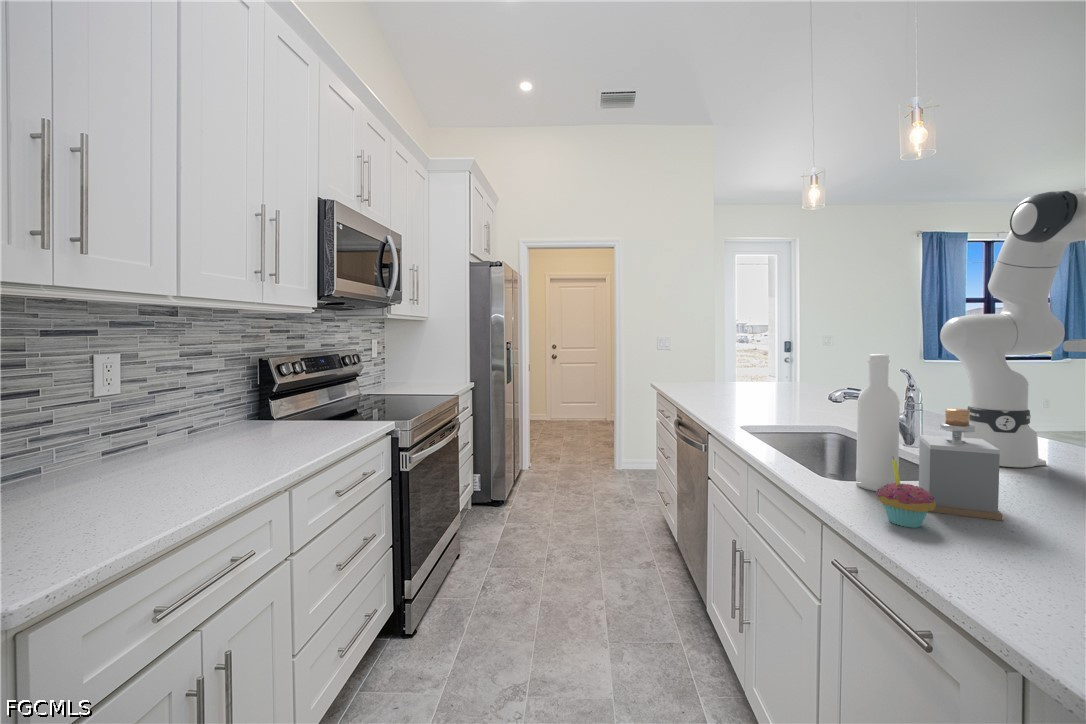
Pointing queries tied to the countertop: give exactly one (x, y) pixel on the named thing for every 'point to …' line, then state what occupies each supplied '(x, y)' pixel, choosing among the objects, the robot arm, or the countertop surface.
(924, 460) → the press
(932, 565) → the countertop surface
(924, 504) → the cupcake
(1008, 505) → the countertop surface
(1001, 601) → the countertop surface
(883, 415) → the bottle
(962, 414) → the plunger
